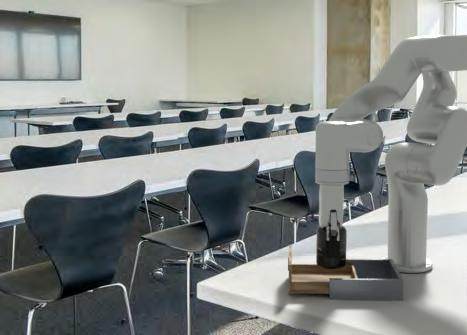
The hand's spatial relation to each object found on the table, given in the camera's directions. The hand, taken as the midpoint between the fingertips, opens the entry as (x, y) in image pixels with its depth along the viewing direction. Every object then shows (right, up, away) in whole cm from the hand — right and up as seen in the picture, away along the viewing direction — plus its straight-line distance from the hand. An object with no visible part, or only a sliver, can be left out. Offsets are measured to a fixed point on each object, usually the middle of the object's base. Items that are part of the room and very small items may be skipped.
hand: (331, 252), depth 134 cm
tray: (-2, -8, +2) cm, 8 cm away
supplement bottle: (0, -3, 0) cm, 3 cm away
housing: (+7, -8, +1) cm, 11 cm away
